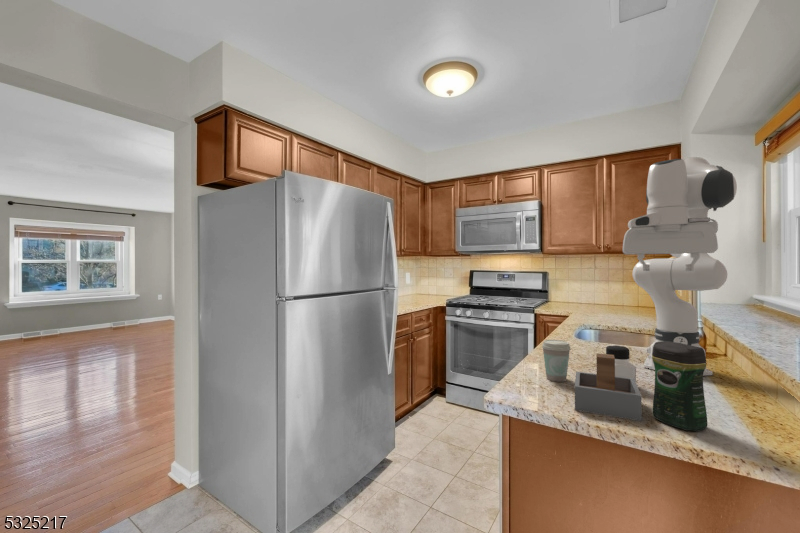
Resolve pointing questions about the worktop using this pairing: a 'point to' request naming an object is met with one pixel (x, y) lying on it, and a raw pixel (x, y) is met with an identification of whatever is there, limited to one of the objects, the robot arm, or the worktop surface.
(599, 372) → the peg
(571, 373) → the worktop surface
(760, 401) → the worktop surface
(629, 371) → the medicine bottle
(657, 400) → the coffee jar
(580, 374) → the box
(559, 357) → the coffee cup
